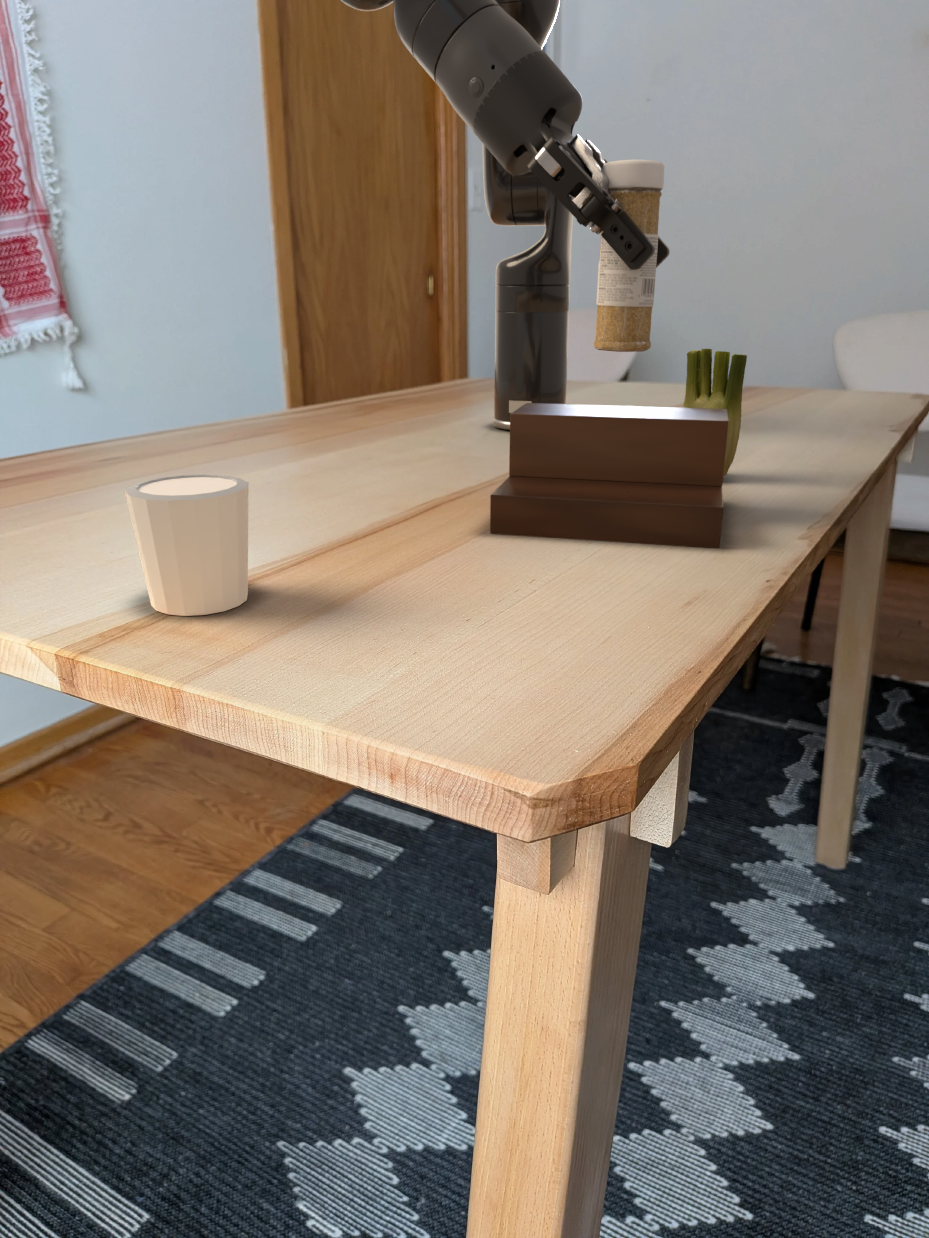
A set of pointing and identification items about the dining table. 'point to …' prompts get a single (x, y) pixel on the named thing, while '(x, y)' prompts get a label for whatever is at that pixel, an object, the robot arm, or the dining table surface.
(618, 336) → the spice jar
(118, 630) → the dining table surface
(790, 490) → the dining table surface
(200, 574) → the cream cup
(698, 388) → the fennel bulb
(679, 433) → the step rack
